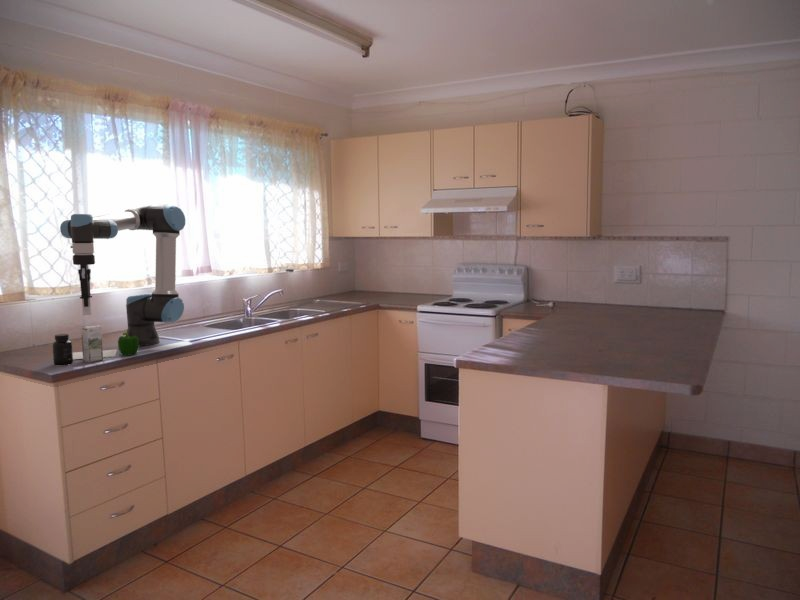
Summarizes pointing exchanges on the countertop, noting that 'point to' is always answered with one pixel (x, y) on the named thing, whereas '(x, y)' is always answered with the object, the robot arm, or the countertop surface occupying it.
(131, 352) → the bell pepper
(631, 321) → the countertop surface
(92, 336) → the syrup box
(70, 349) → the supplement bottle
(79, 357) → the mat
